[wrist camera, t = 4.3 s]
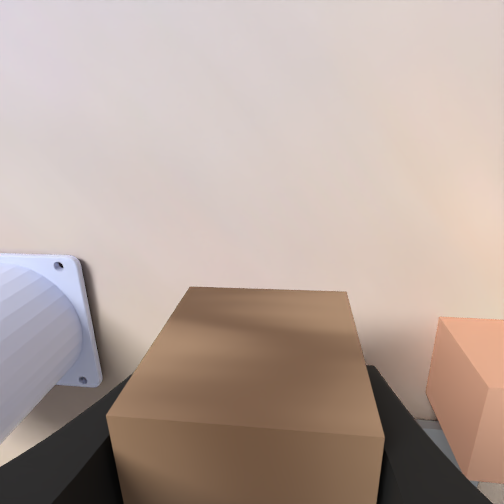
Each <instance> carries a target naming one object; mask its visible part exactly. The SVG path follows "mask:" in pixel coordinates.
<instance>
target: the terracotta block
mask: <svg viewBox="0 0 504 504" xmlns="http://www.w3.org/2000/svg"><path fill="white" fill-rule="evenodd" d="M426 395H427V397H428V399H429V401H430V404H431V406H432V408H433V410H434V412H435V415H436V417H437V419H438V421H439V423H440V426H441V428H442V430H443V432H444V434H445V436H446V439H447V441H448V443H449V445H450V447H451V450H452V452H453V454H454V456H455V458H456V461H457V463H458V465H459V467H460V469H461V471H462V473H463V474H464V476H465V477H466V478H467V479H468V480H470V481H481V482H491V483H502V484H504V320H496V319H475V318H454V317H439V321H438V327H437V332H436V338H435V343H434V349H433V354H432V360H431V365H430V371H429V376H428V382H427V387H426Z"/></svg>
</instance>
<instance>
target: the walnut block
mask: <svg viewBox="0 0 504 504" xmlns="http://www.w3.org/2000/svg"><path fill="white" fill-rule="evenodd" d="M106 419H107V423H108V428H109V433H110V438H111V443H112V448H113V453H114V458H115V463H116V468H117V472H118V477H119V482H120V487H121V492H122V497H123V502H124V504H376V502H377V494H378V487H379V479H380V471H381V464H382V456H383V448H384V441H385V436H384V432H383V428H382V425H381V421H380V417H379V413H378V409H377V406H376V402H375V398H374V394H373V390H372V387H371V383H370V379H369V375H368V371H367V368H366V364H365V360H364V356H363V353H362V349H361V345H360V341H359V337H358V334H357V330H356V326H355V322H354V318H353V315H352V311H351V307H350V303H349V299H348V296H347V292H339V291H308V290H277V289H245V288H214V287H189V289H188V290H187V292H186V293H185V295H184V296H183V298H182V300H181V301H180V303H179V304H178V306H177V307H176V309H175V310H174V312H173V313H172V315H171V316H170V318H169V319H168V321H167V323H166V324H165V326H164V327H163V329H162V330H161V332H160V333H159V335H158V336H157V338H156V339H155V341H154V342H153V344H152V345H151V347H150V349H149V350H148V352H147V353H146V355H145V356H144V358H143V359H142V361H141V362H140V364H139V365H138V367H137V368H136V370H135V372H134V373H133V375H132V376H131V378H130V379H129V381H128V382H127V384H126V385H125V387H124V388H123V390H122V391H121V393H120V394H119V396H118V398H117V399H116V401H115V402H114V404H113V405H112V407H111V408H110V410H109V411H108V413H107V414H106Z"/></svg>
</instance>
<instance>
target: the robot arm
mask: <svg viewBox="0 0 504 504" xmlns="http://www.w3.org/2000/svg"><path fill="white" fill-rule="evenodd" d="M58 262H60V263H61V264H62V265H63V268H61V267H60V266H59V264H58ZM366 368H367V371H368V375H369V379H370V383H371V387H372V390H373V394H374V398H375V402H376V406H377V409H378V413H379V417H380V421H381V425H382V428H383V432H384V436H385V441H384V448H383V456H382V464H381V471H380V479H379V487H378V494H377V502H376V504H493V503H492V502H491V501H489V500H488V499H487V498H486V497H485V496H484V495H483V494H482V493H481V492H480V491H479V490H478V489H477V488H476V487H475V486H474V485H473V484H472V483H471V482H470V481H469V480H468V479H467V478H466V477H465V476H464V474H463V473H462V472H461V471H460V470H459V469H458V468H457V467H456V466H455V465H454V464H453V463H452V462H451V461H450V459H449V458H448V457H447V456H446V455H445V454H444V453H443V452H442V451H441V450H440V448H439V447H438V446H437V445H436V444H435V443H434V442H433V440H432V439H431V438H430V437H429V436H428V435H427V433H426V432H425V431H424V430H423V429H422V427H421V426H420V425H419V424H418V423H417V421H416V420H415V419H414V418H413V417H412V415H411V414H410V413H409V412H408V410H407V409H406V408H405V406H404V405H403V404H402V403H401V401H400V400H399V399H398V397H397V396H396V395H395V393H394V392H393V391H392V389H391V388H390V387H389V385H388V384H387V383H386V381H385V380H384V378H383V377H382V376H381V374H380V373H379V371H378V370H377V369H376V368H375V367H374V366H369V365H366ZM132 375H133V374H132ZM132 375H130V376H129V377H128V378H127V379H125V380H124V381H123V382H122V383H120V384H119V385H118V386H117V387H115V388H114V389H113V390H112V391H110V392H109V393H108V394H107V395H105V396H104V397H103V398H102V399H100V400H99V401H98V402H96V403H95V404H94V405H92V406H91V407H90V408H88V409H87V410H85V411H84V412H83V413H81V414H80V415H79V416H77V417H76V418H75V419H73V420H72V421H70V422H69V423H68V424H66V425H65V426H64V427H62V428H61V429H59V430H58V431H56V432H55V433H54V434H52V435H51V436H49V437H48V438H46V439H45V440H43V441H41V442H40V443H38V444H37V445H35V446H34V447H32V448H30V449H29V450H27V451H26V452H24V453H22V454H21V455H19V456H18V457H16V458H14V459H13V460H11V461H10V462H8V463H6V464H4V465H3V466H1V467H0V504H124V502H123V497H122V492H121V487H120V482H119V477H118V472H117V468H116V463H115V458H114V453H113V448H112V443H111V438H110V433H109V428H108V423H107V419H106V414H107V413H108V411H109V410H110V408H111V407H112V405H113V404H114V402H115V401H116V399H117V398H118V396H119V394H120V393H121V391H122V390H123V388H124V387H125V385H126V384H127V382H128V381H129V379H130V378H131V376H132ZM84 377H85V378H86V379H85V378H84ZM102 380H103V377H102V372H101V367H100V361H99V356H98V351H97V346H96V341H95V335H94V330H93V325H92V320H91V315H90V309H89V304H88V299H87V294H86V288H85V283H84V278H83V273H82V268H81V264H80V261H79V260H78V259H77V258H76V257H74V256H71V255H46V254H11V253H0V444H1V443H2V442H3V441H4V440H5V439H6V438H7V437H8V436H9V435H10V433H11V432H12V431H13V430H14V429H15V428H16V427H17V426H18V425H19V424H20V423H21V421H22V420H23V419H24V418H25V417H26V416H27V415H28V414H29V413H30V412H31V411H32V409H33V408H34V407H35V406H36V405H37V404H38V403H39V402H40V401H41V400H42V399H43V397H44V396H45V395H46V394H47V393H48V392H49V391H50V390H51V389H52V388H53V387H54V385H66V386H80V387H97V386H99V385H100V383H101V382H102Z"/></svg>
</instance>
